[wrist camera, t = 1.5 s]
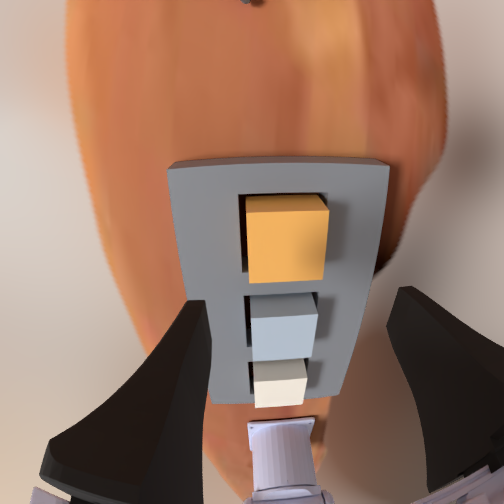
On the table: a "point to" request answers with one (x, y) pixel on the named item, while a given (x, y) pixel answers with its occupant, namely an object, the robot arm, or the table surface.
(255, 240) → the orange button
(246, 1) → the lion figurine
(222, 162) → the button board
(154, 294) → the table surface
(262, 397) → the cream button
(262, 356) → the slate-blue button
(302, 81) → the table surface
